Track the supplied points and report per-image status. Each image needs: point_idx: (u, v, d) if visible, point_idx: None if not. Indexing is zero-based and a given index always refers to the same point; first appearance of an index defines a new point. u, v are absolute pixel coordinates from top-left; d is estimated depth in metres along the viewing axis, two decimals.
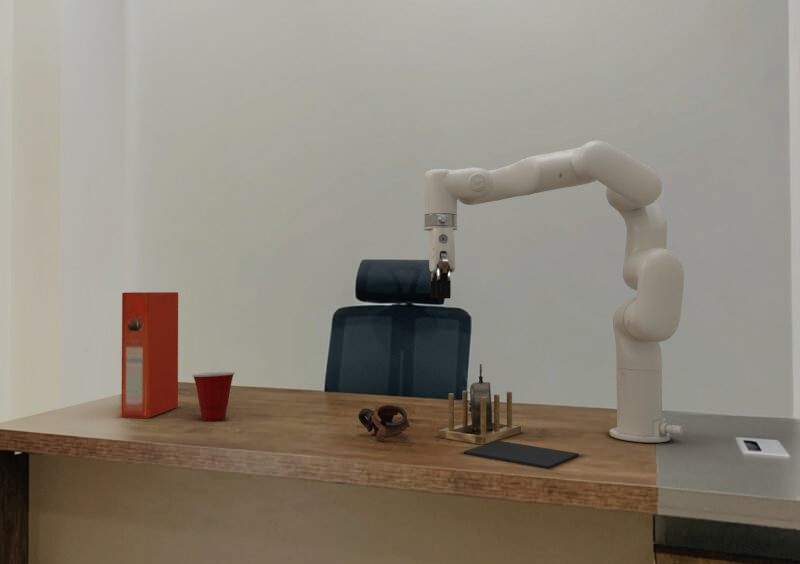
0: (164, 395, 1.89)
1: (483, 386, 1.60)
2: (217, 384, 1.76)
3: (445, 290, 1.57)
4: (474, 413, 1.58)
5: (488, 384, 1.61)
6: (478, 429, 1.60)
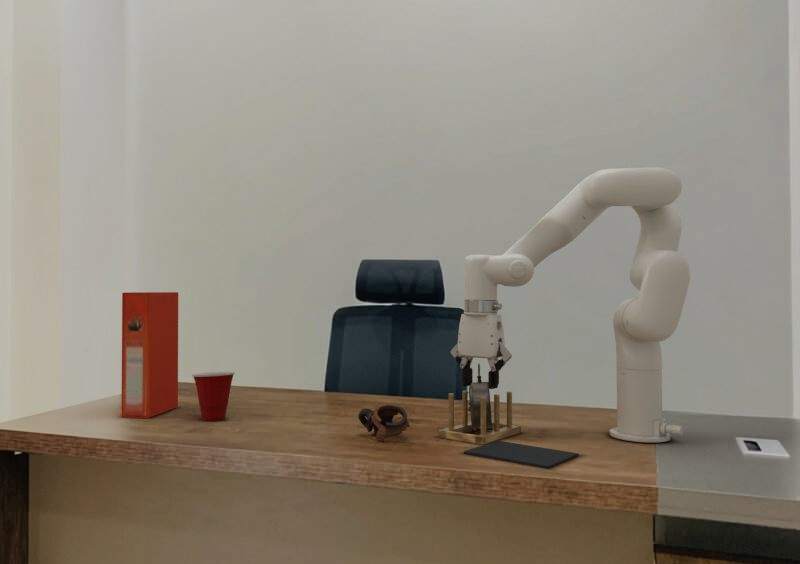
0: (164, 395, 1.89)
1: (482, 386, 1.60)
2: (217, 384, 1.76)
3: (497, 380, 1.60)
4: (473, 413, 1.58)
5: (487, 383, 1.61)
6: (477, 429, 1.60)
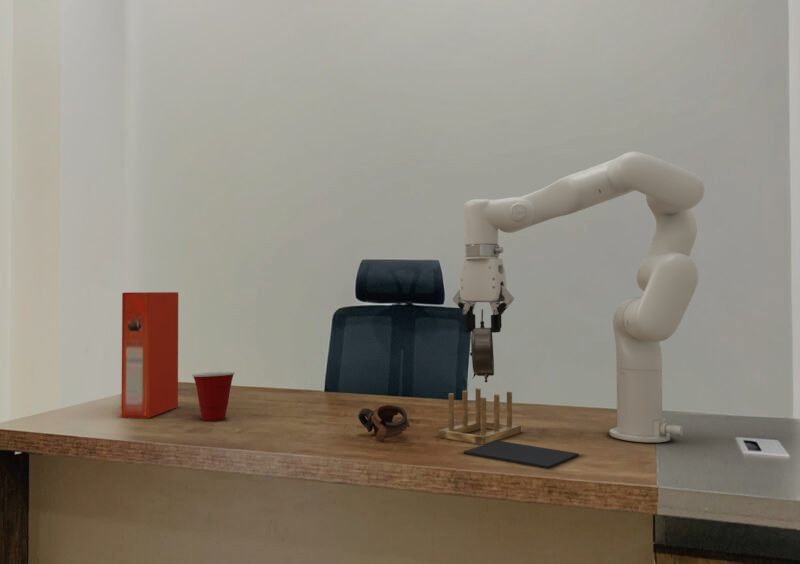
0: (164, 395, 1.89)
1: (484, 331, 1.60)
2: (217, 384, 1.76)
3: (500, 324, 1.61)
4: (474, 357, 1.58)
5: (489, 329, 1.61)
6: (479, 373, 1.60)
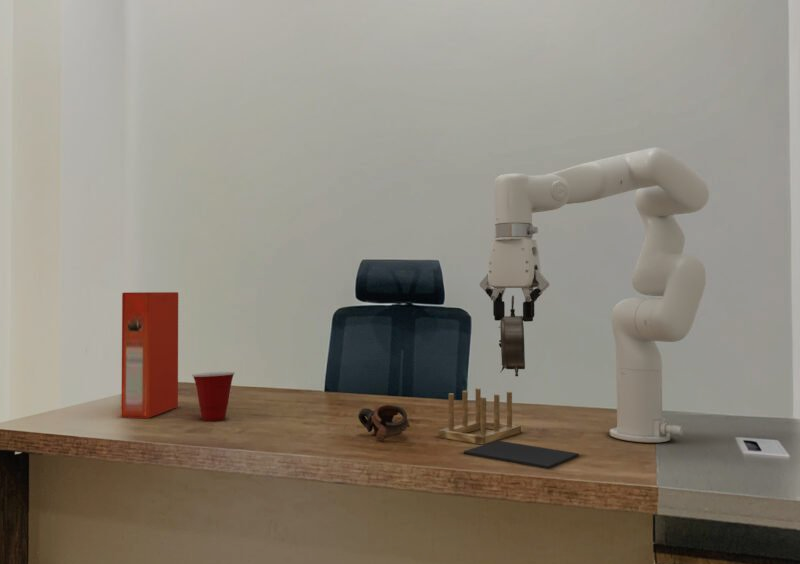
0: (164, 395, 1.89)
1: (515, 319, 1.45)
2: (217, 384, 1.76)
3: (533, 312, 1.45)
4: (504, 348, 1.42)
5: (521, 317, 1.45)
6: (508, 366, 1.44)
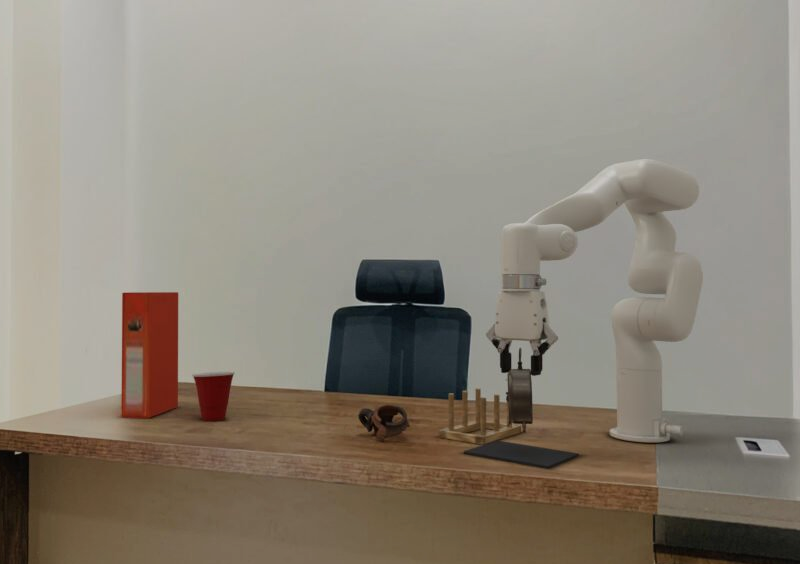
0: (164, 395, 1.89)
1: (523, 373, 1.41)
2: (217, 384, 1.76)
3: (541, 366, 1.41)
4: (511, 403, 1.39)
5: (528, 371, 1.42)
6: (516, 421, 1.41)
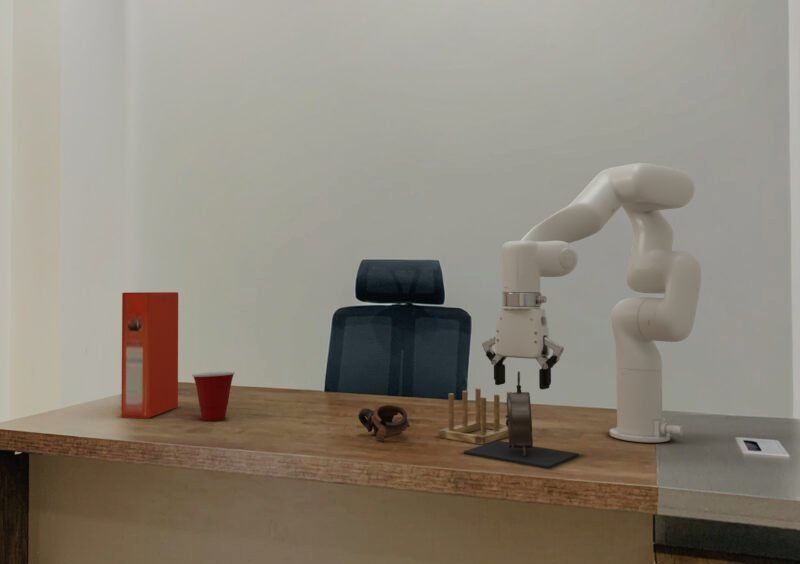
0: (164, 395, 1.89)
1: (522, 397, 1.41)
2: (217, 384, 1.76)
3: (549, 379, 1.40)
4: (511, 428, 1.39)
5: (527, 394, 1.42)
6: (516, 446, 1.41)
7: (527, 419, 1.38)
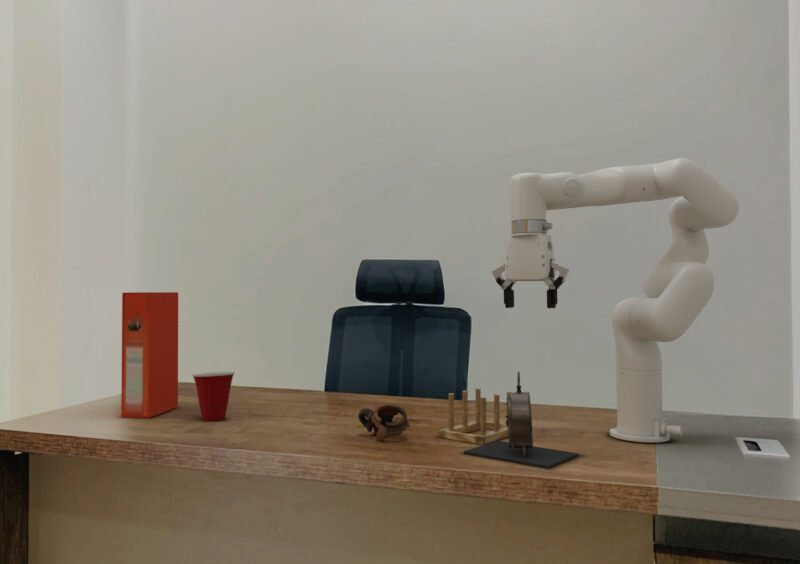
0: (164, 395, 1.89)
1: (522, 397, 1.41)
2: (217, 384, 1.76)
3: (556, 299, 1.52)
4: (511, 428, 1.39)
5: (527, 394, 1.42)
6: (516, 446, 1.41)
7: (527, 419, 1.38)
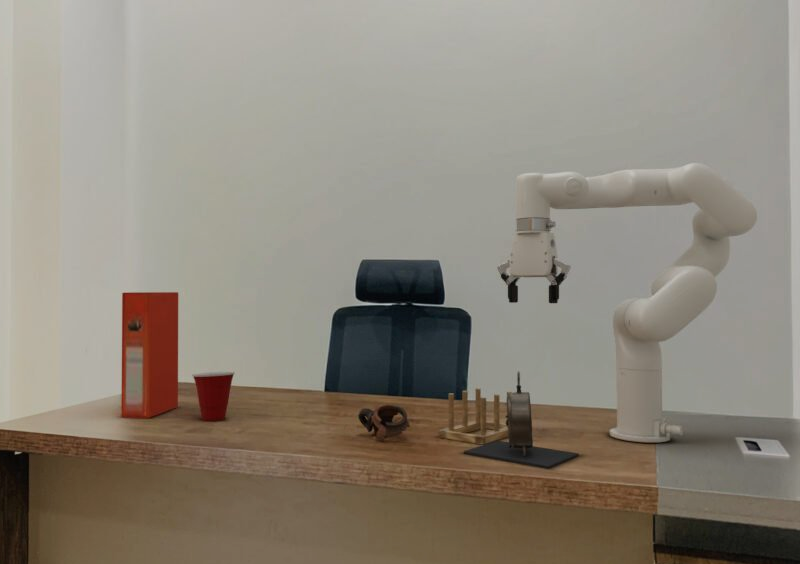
0: (164, 395, 1.89)
1: (522, 397, 1.41)
2: (217, 384, 1.76)
3: (558, 295, 1.58)
4: (511, 428, 1.39)
5: (527, 394, 1.42)
6: (516, 446, 1.41)
7: (527, 419, 1.38)
